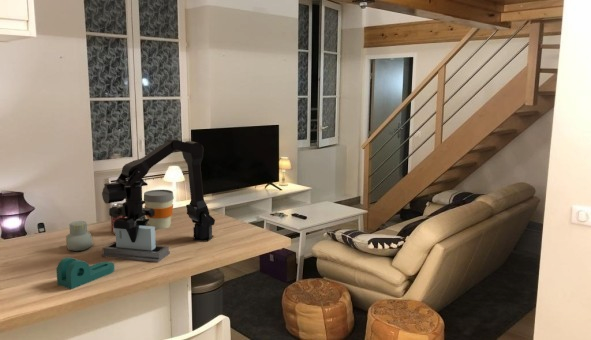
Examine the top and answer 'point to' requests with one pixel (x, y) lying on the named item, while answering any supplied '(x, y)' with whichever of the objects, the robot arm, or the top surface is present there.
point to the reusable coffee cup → (159, 207)
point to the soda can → (116, 217)
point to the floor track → (136, 253)
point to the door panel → (137, 238)
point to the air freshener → (78, 236)
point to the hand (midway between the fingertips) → (135, 240)
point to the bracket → (80, 272)
